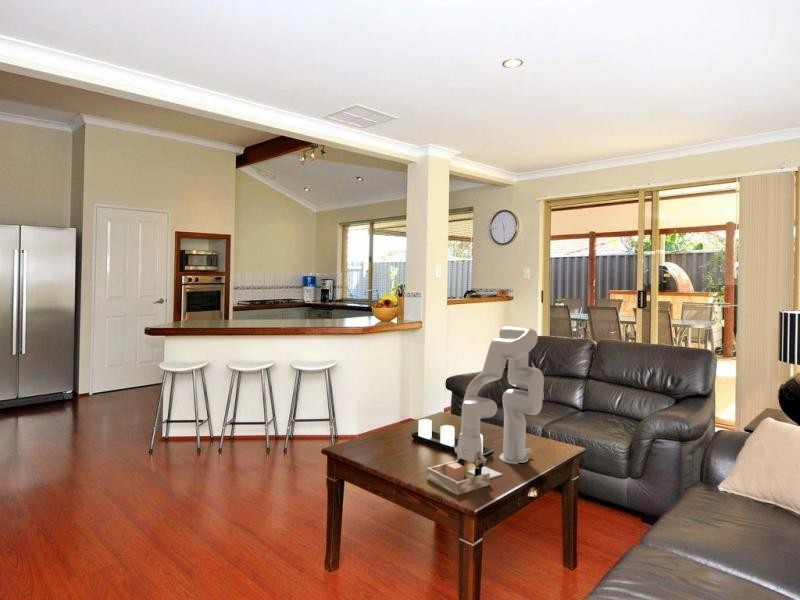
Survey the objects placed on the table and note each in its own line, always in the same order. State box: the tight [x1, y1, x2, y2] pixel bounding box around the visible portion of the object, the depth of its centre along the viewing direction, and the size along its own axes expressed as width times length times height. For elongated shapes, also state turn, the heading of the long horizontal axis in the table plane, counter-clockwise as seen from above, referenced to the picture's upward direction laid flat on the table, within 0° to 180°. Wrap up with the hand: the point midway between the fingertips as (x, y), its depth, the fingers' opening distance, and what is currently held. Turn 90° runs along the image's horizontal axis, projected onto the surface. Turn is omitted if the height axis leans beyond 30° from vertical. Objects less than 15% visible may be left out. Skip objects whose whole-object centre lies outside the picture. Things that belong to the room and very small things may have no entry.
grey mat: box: [467, 465, 503, 480], centre depth 215 cm, size 10×10×1 cm
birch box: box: [426, 459, 491, 496], centre depth 206 cm, size 17×18×4 cm
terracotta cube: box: [445, 462, 466, 482], centre depth 205 cm, size 5×5×7 cm
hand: (469, 473), depth 209 cm, fingers open, 9 cm apart
